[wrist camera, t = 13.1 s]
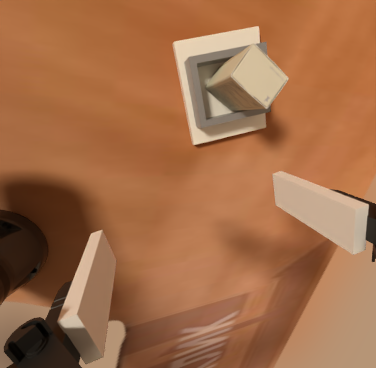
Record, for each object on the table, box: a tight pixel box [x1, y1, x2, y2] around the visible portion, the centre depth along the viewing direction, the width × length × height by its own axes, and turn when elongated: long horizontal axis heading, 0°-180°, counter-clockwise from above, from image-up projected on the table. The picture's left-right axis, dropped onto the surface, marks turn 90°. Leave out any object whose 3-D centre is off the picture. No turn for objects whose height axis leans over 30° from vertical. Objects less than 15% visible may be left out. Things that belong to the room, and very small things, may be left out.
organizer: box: [173, 26, 271, 145], centre depth 34 cm, size 14×16×5 cm
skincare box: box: [205, 43, 288, 111], centre depth 30 cm, size 6×4×12 cm
